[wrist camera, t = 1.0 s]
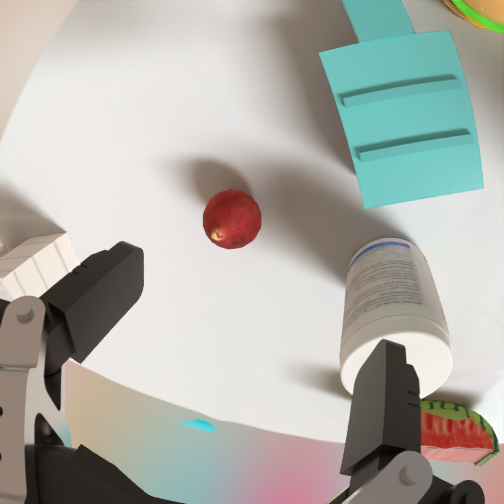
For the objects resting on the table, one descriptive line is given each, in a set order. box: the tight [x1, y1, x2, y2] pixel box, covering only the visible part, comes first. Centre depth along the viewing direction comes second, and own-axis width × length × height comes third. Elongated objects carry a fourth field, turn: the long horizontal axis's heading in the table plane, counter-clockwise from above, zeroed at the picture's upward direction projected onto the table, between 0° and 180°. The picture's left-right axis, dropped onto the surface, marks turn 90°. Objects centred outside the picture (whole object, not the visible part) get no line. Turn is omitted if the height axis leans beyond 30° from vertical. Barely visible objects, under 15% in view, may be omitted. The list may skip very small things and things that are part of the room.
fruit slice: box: [420, 400, 499, 466], centre depth 38 cm, size 26×6×10 cm, turn 84°
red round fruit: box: [203, 189, 261, 249], centre depth 31 cm, size 6×6×8 cm
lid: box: [319, 0, 484, 209], centre depth 18 cm, size 10×18×3 cm, turn 20°
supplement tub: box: [340, 238, 453, 399], centre depth 27 cm, size 10×10×15 cm
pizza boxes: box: [0, 232, 80, 302], centre depth 47 cm, size 19×30×18 cm, turn 102°
